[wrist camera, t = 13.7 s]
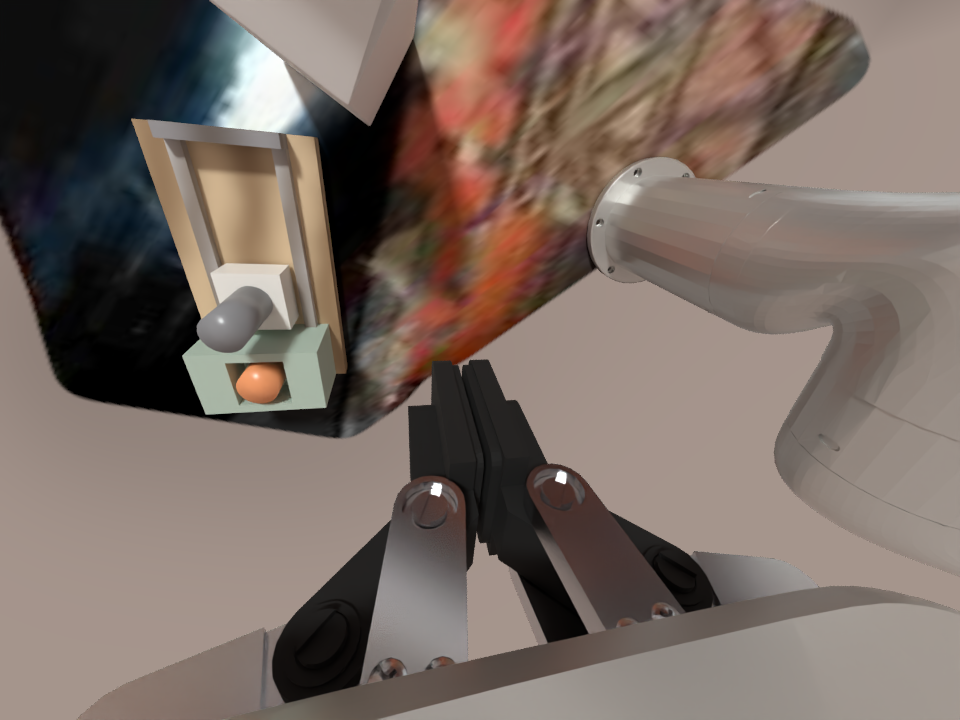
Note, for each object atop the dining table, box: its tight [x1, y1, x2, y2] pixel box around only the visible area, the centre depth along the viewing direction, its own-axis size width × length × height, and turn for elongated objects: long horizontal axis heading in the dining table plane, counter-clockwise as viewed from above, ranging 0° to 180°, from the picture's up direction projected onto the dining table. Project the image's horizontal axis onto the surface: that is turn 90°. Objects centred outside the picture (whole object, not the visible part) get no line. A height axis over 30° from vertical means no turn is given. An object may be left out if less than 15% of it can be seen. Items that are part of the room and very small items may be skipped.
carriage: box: [197, 263, 299, 353], centre depth 28 cm, size 5×5×9 cm
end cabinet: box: [182, 324, 336, 414], centre depth 33 cm, size 10×6×8 cm, turn 85°
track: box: [132, 119, 347, 374], centre depth 31 cm, size 12×22×4 cm, turn 176°
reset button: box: [236, 362, 286, 404], centre depth 31 cm, size 3×3×3 cm
